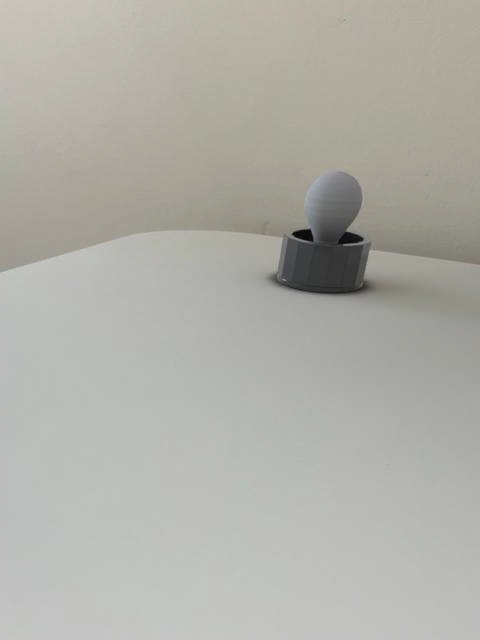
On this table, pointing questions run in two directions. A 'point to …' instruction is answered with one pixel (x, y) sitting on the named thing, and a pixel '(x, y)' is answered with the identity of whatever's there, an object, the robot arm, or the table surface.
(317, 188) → the light bulb
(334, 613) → the table surface
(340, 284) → the socket
